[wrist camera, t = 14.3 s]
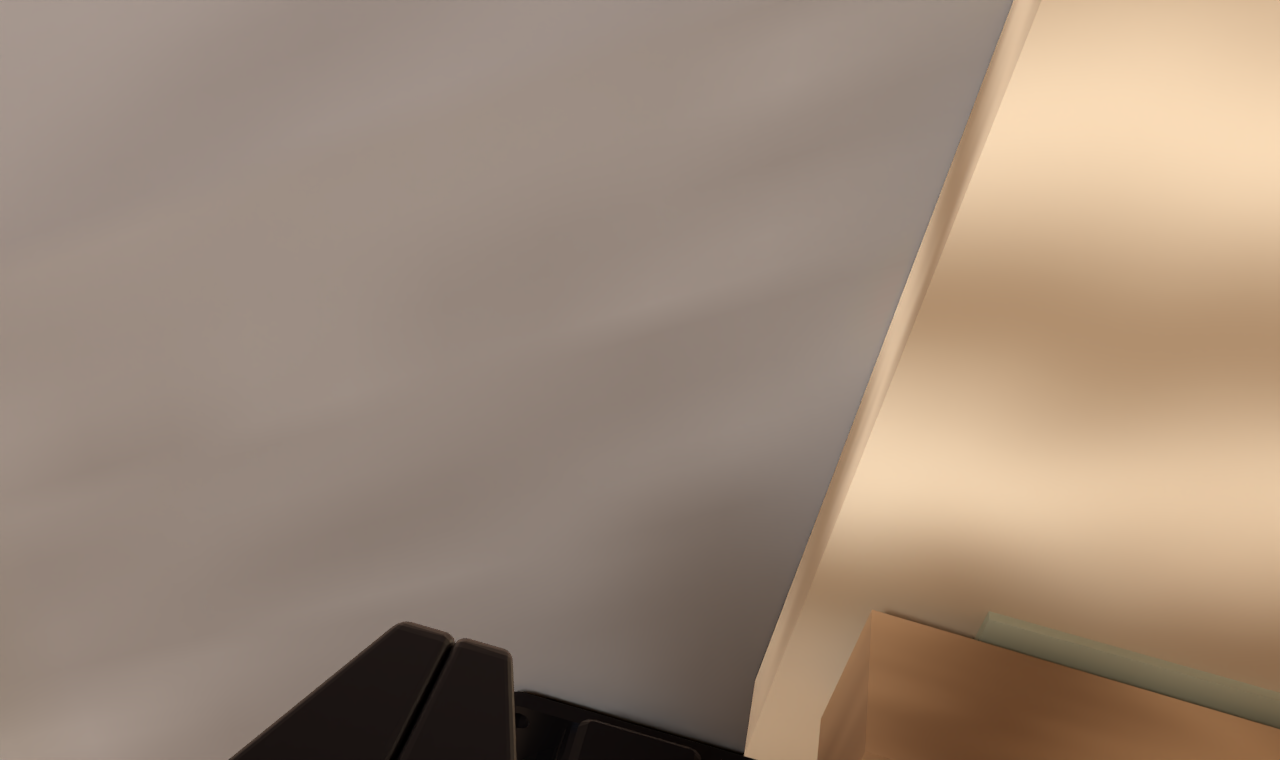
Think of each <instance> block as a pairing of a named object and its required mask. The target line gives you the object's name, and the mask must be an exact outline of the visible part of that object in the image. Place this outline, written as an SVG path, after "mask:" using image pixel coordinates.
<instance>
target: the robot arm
mask: <svg viewBox="0 0 1280 760" xmlns="http://www.w3.org/2000/svg"><path fill="white" fill-rule="evenodd" d="M229 760H756V759H752V758H749V757H745V756H742V755H738V754H735V753H732V752H728V751H725V750H721V749H718V748H714V747H711V746H707V745H704V744H701V743H697V742H694V741H690V740H687V739H683V738H680V737H676V736H673V735H669V734H666V733H663V732H659V731H656V730H652V729H649V728H645V727H642V726H638V725H635V724H632V723H628V722H625V721H621V720H618V719H614V718H611V717H607V716H604V715H601V714H597V713H594V712H590V711H587V710H583V709H580V708H576V707H573V706H569V705H566V704H563V703H559V702H556V701H552V700H549V699H545V698H542V697H538V696H535V695H532V694H528V693H523V692H514V681H513V661H512V656H511V654H510V653H509V652H508V651H507V650H505V649H503V648H499V647H496V646H492V645H489V644H485V643H482V642H478V641H475V640H471V639H467V638H463V639H460V640H458V641H457V642H456V643H455V641H454V638H453V637H452V636H451V635H450V634H448V633H447V632H444V631H440V630H437V629H433V628H430V627H426V626H423V625H419V624H416V623H412V622H402V623H398V624H396V625H395V626H393V627H392V628H390V629H389V630H388V631H387V632H385V633H384V634H383V635H382V636H380V637H379V638H378V639H377V640H375V641H374V642H373V643H372V644H371V645H369V646H368V647H367V648H366V649H364V650H363V651H362V652H361V653H359V654H358V655H357V656H356V657H355V658H353V659H352V660H351V661H350V662H348V663H347V664H346V665H345V666H343V667H342V668H341V669H340V670H339V671H337V672H336V673H335V674H334V675H332V676H331V677H330V678H329V679H327V680H326V681H325V682H324V683H322V684H321V685H320V686H319V687H318V688H316V689H315V690H314V691H313V692H311V693H310V694H309V695H308V696H306V697H305V698H304V699H303V700H302V701H300V702H299V703H298V704H297V705H295V706H294V707H293V708H292V709H290V710H289V711H288V712H287V713H286V714H284V715H283V716H282V717H281V718H279V719H278V720H277V721H276V722H274V723H273V724H272V725H271V726H270V727H268V728H267V729H266V730H265V731H263V732H262V733H261V734H260V735H258V736H257V737H256V738H255V739H253V740H252V741H251V742H250V743H249V744H247V745H246V746H245V747H244V748H242V749H241V750H240V751H239V752H237V753H236V754H235V755H234V756H233V757H231V758H230V759H229Z"/></svg>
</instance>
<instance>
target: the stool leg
mask: <svg viewBox="0 0 1280 760" xmlns="http://www.w3.org/2000/svg"><path fill="white" fill-rule="evenodd" d="M817 760H1280V729H1277V728H1274V727H1270V726H1267V725H1263V724H1260V723H1257V722H1253V721H1250V720H1246V719H1243V718H1240V717H1236V716H1233V715H1229V714H1226V713H1223V712H1219V711H1216V710H1212V709H1209V708H1206V707H1202V706H1199V705H1195V704H1192V703H1189V702H1185V701H1182V700H1178V699H1175V698H1171V697H1168V696H1165V695H1161V694H1158V693H1154V692H1151V691H1148V690H1144V689H1141V688H1137V687H1134V686H1131V685H1127V684H1124V683H1120V682H1117V681H1114V680H1110V679H1107V678H1103V677H1100V676H1097V675H1093V674H1090V673H1086V672H1083V671H1080V670H1076V669H1073V668H1069V667H1066V666H1062V665H1059V664H1056V663H1052V662H1049V661H1045V660H1042V659H1039V658H1035V657H1032V656H1028V655H1025V654H1022V653H1018V652H1015V651H1011V650H1008V649H1005V648H1001V647H998V646H994V645H991V644H988V643H984V642H981V641H977V640H974V639H971V638H967V637H964V636H960V635H957V634H953V633H950V632H947V631H943V630H940V629H936V628H933V627H930V626H926V625H923V624H919V623H916V622H913V621H909V620H906V619H902V618H899V617H896V616H892V615H889V614H885V613H882V612H879V611H875V610H872V611H871V613H870V615H869V617H868V619H867V621H866V623H865V626H864V628H863V630H862V632H861V634H860V636H859V638H858V640H857V643H856V645H855V647H854V649H853V651H852V653H851V655H850V658H849V660H848V662H847V664H846V666H845V668H844V670H843V672H842V675H841V677H840V679H839V681H838V683H837V685H836V687H835V690H834V692H833V694H832V696H831V698H830V700H829V702H828V705H827V707H826V709H825V711H824V713H823V715H822V717H821V723H820V734H819V745H818V757H817Z"/></svg>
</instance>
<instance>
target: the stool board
mask: <svg viewBox="0 0 1280 760" xmlns="http://www.w3.org/2000/svg"><path fill="white" fill-rule="evenodd" d="M872 610H875V611H879V612H882V613H885V614H889V615H892V616H896V617H899V618H902V619H906V620H909V621H913V622H916V623H919V624H923V625H926V626H930V627H933V628H936V629H940V630H943V631H947V632H950V633H953V634H957V635H960V636H964V637H967V638H971V639H974V640H977V641H981V642H984V643H988V644H991V645H994V646H998V647H1001V648H1005V649H1008V650H1011V651H1015V652H1018V653H1022V654H1025V655H1028V656H1032V657H1035V658H1039V659H1042V660H1045V661H1049V662H1052V663H1056V664H1059V665H1062V666H1066V667H1069V668H1073V669H1076V670H1080V671H1083V672H1086V673H1090V674H1093V675H1097V676H1100V677H1103V678H1107V679H1110V680H1114V681H1117V682H1120V683H1124V684H1127V685H1131V686H1134V687H1137V688H1141V689H1144V690H1148V691H1151V692H1154V693H1158V694H1161V695H1165V696H1168V697H1171V698H1175V699H1178V700H1182V701H1185V702H1189V703H1192V704H1195V705H1199V706H1202V707H1206V708H1209V709H1212V710H1216V711H1219V712H1223V713H1226V714H1229V715H1233V716H1236V717H1240V718H1243V719H1246V720H1250V721H1253V722H1257V723H1260V724H1263V725H1267V726H1270V727H1274V728H1277V729H1280V0H1014V1H1013V4H1012V6H1011V9H1010V11H1009V14H1008V17H1007V19H1006V22H1005V25H1004V27H1003V30H1002V32H1001V35H1000V38H999V40H998V43H997V46H996V48H995V51H994V54H993V56H992V59H991V61H990V64H989V67H988V69H987V72H986V75H985V77H984V80H983V82H982V85H981V88H980V90H979V93H978V96H977V98H976V101H975V104H974V106H973V109H972V111H971V114H970V117H969V119H968V122H967V125H966V127H965V130H964V132H963V135H962V138H961V140H960V143H959V146H958V148H957V151H956V153H955V156H954V159H953V161H952V164H951V167H950V169H949V172H948V175H947V177H946V180H945V182H944V185H943V188H942V190H941V193H940V196H939V198H938V201H937V203H936V206H935V209H934V211H933V214H932V217H931V219H930V222H929V225H928V227H927V230H926V232H925V235H924V238H923V240H922V243H921V246H920V248H919V251H918V253H917V256H916V259H915V261H914V264H913V267H912V269H911V272H910V275H909V277H908V280H907V282H906V285H905V288H904V290H903V293H902V296H901V298H900V301H899V303H898V306H897V309H896V311H895V314H894V317H893V319H892V322H891V325H890V327H889V330H888V332H887V335H886V338H885V340H884V343H883V346H882V348H881V351H880V353H879V356H878V359H877V361H876V364H875V367H874V369H873V372H872V375H871V377H870V380H869V382H868V385H867V388H866V390H865V393H864V396H863V398H862V401H861V403H860V406H859V409H858V411H857V414H856V417H855V419H854V422H853V424H852V427H851V430H850V432H849V435H848V438H847V440H846V443H845V446H844V448H843V451H842V453H841V456H840V459H839V461H838V464H837V467H836V469H835V472H834V474H833V477H832V480H831V482H830V485H829V488H828V490H827V493H826V496H825V498H824V501H823V503H822V506H821V509H820V511H819V514H818V517H817V519H816V522H815V524H814V527H813V530H812V532H811V535H810V538H809V540H808V543H807V546H806V548H805V551H804V553H803V556H802V559H801V561H800V564H799V567H798V569H797V572H796V574H795V577H794V580H793V582H792V585H791V588H790V590H789V593H788V596H787V598H786V601H785V603H784V606H783V609H782V611H781V614H780V617H779V619H778V622H777V624H776V627H775V630H774V632H773V635H772V638H771V640H770V643H769V646H768V648H767V651H766V653H765V656H764V659H763V661H762V664H761V667H760V669H759V672H758V674H757V677H756V680H755V685H754V692H753V699H752V705H751V712H750V718H749V725H748V732H747V738H746V745H745V752H744V756H746V757H749V758H752V759H756V760H817V757H818V745H819V734H820V723H821V717H822V715H823V713H824V711H825V709H826V707H827V705H828V702H829V700H830V698H831V696H832V694H833V692H834V690H835V687H836V685H837V683H838V681H839V679H840V677H841V675H842V672H843V670H844V668H845V666H846V664H847V662H848V660H849V658H850V655H851V653H852V651H853V649H854V647H855V645H856V643H857V640H858V638H859V636H860V634H861V632H862V630H863V628H864V626H865V623H866V621H867V619H868V617H869V615H870V613H871V611H872Z"/></svg>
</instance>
